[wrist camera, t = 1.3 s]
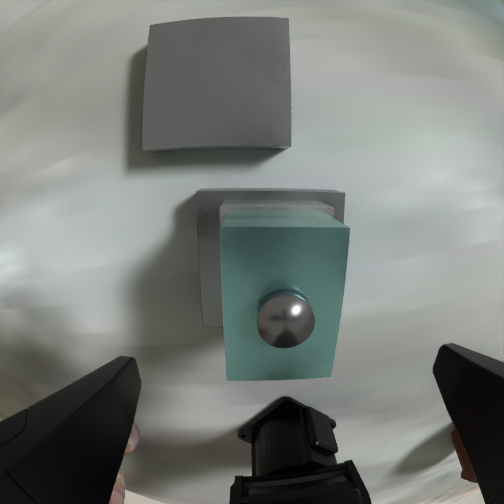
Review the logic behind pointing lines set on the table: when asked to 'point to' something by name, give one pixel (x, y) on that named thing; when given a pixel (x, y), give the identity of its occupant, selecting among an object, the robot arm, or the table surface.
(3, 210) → the table surface
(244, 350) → the housing
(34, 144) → the table surface
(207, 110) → the stand
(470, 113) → the table surface
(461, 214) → the table surface
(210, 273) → the stand
